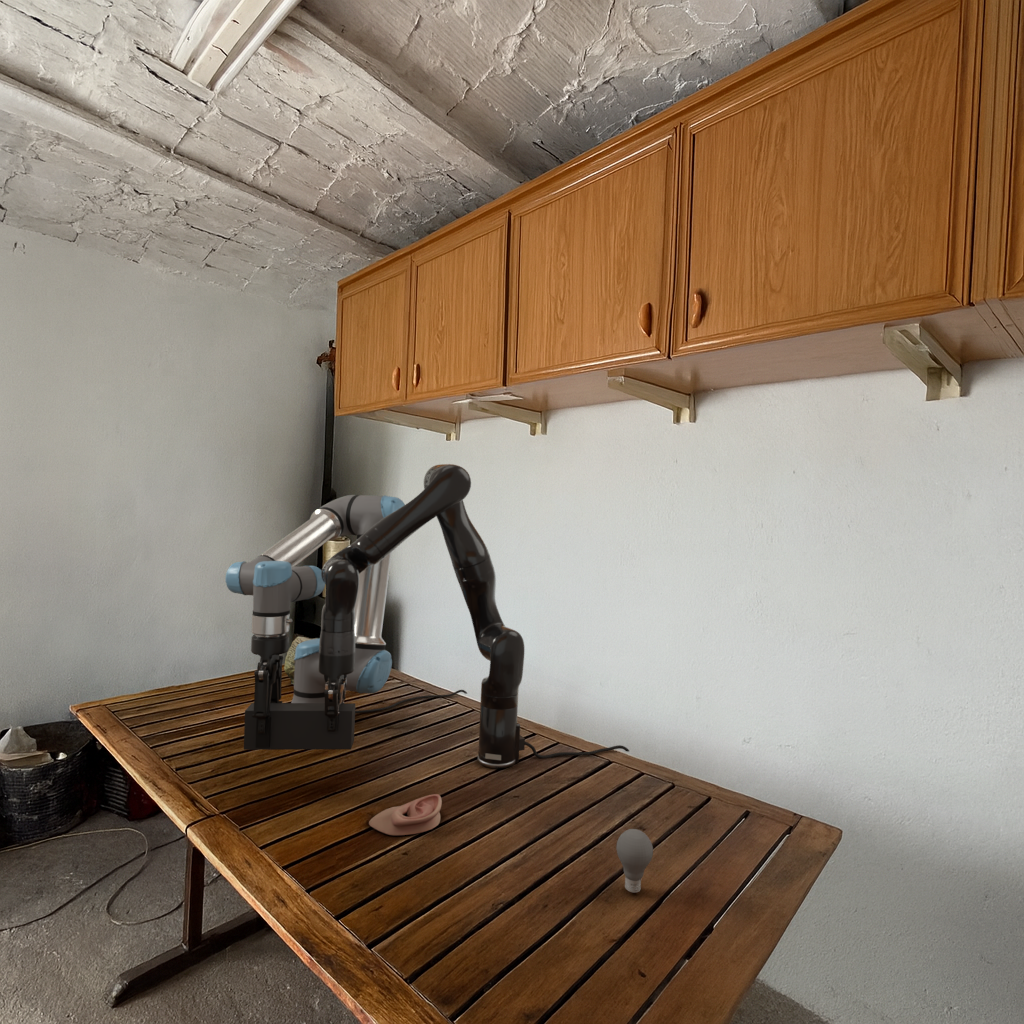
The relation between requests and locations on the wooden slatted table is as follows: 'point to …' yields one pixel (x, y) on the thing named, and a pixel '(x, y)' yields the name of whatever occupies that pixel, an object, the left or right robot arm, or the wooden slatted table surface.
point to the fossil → (291, 655)
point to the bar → (302, 727)
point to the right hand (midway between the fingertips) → (334, 727)
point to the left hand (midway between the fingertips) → (266, 741)
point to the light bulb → (634, 857)
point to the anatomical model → (409, 817)
